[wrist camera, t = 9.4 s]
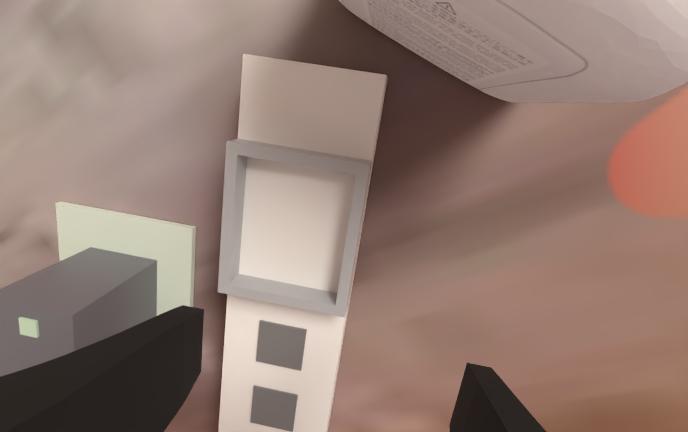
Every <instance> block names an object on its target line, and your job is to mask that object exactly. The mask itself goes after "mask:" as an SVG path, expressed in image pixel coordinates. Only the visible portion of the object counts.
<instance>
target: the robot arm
mask: <svg viewBox="0 0 688 432" xmlns="http://www.w3.org/2000/svg"><path fill="white" fill-rule="evenodd" d="M203 314H204V309H199V308H194V307H189V306H184V305H182V306H179V307H176V308H174V309H171V310H169V311H167V312H164V313H162V314H160V315H158V316H155V317H153V318H151V319H149V320H147V321H144V322H142V323H140V324H138V325H135V326H133V327H131V328H129V329H126V330H124V331H122V332H120V333H117V334H115V335H113V336H110V337H108V338H106V339H103V340H101V341H98V342H96V343H93V344H91V345H88V346H86V347H83V348H81V349H78V350H76V351H73V352H71V353H68V354H66V355H63V356H61V357H58V358H55V359H52V360H50V361H47V362H44V363H41V364H38V365H35V366H32V367H29V368H26V369H23V370H20V371H17V372H14V373H11V374H7V375H4V376H1V377H0V432H164V430H165V429H166V427H167V426H168V425H169V423H170V422H171V420H172V419H173V418H174V416H175V415H176V413H177V412H178V411H179V409H180V408H181V406H182V405H183V403H184V401H185V400H186V398H187V396H188V394H189V393H190V391H191V389H192V387H193V385H194V383H195V382H196V380H197V378H198V376H199V374H200V372H201V358H202V336H203ZM450 432H546V431H545V430H544V429H543V427H542V426H541V425H540V424H539V423H538V422H537V421H536V420H535V418H534V417H533V416H532V415H531V414H530V413H529V411H528V410H527V409H526V408H525V407H524V406H523V404H522V403H521V402H520V401H519V400H518V398H517V397H516V396H515V395H514V394H513V393H512V391H511V390H510V389H509V388H508V387H507V385H506V384H505V383H504V382H503V381H502V379H501V378H500V377H499V376H498V375H497V374H496V373H495V372H494V370H493V369H492V368H490V367H485V366H480V365H475V364H470V363H467V365H466V369H465V372H464V376H463V379H462V383H461V387H460V390H459V394H458V397H457V401H456V404H455V408H454V411H453V415H452V418H451V422H450Z"/></svg>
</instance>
